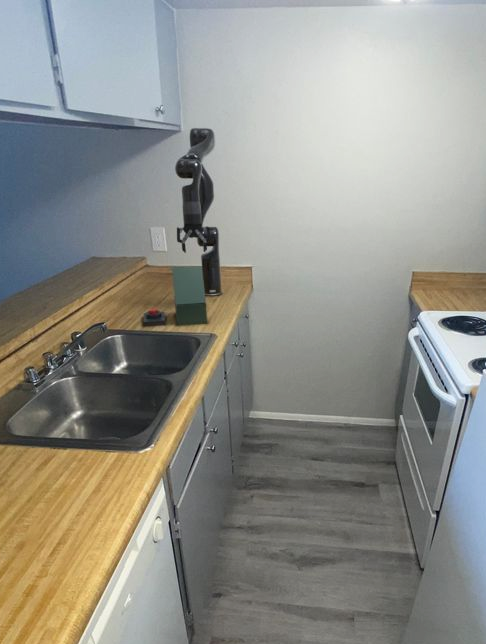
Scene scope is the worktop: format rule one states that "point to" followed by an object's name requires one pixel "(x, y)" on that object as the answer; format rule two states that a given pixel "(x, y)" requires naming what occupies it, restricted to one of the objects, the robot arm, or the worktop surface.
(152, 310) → the button
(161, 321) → the button block
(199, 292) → the lid
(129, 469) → the worktop surface
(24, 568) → the worktop surface
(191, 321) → the chest
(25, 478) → the worktop surface
